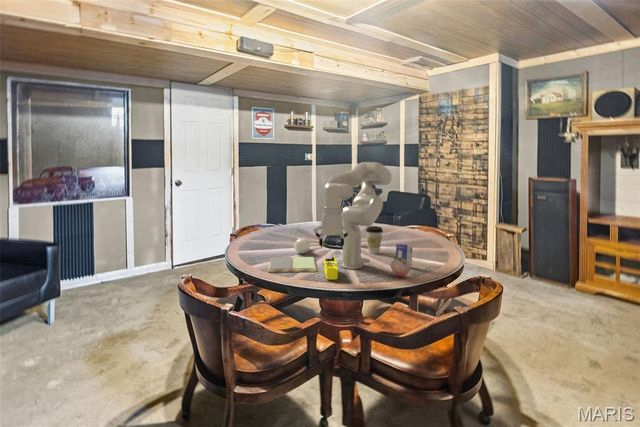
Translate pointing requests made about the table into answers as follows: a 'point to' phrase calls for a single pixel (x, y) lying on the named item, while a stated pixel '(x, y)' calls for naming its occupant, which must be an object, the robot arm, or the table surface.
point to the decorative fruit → (400, 267)
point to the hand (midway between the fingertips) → (331, 246)
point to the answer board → (292, 264)
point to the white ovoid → (302, 245)
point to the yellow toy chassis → (330, 268)
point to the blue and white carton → (404, 252)
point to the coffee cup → (374, 239)
